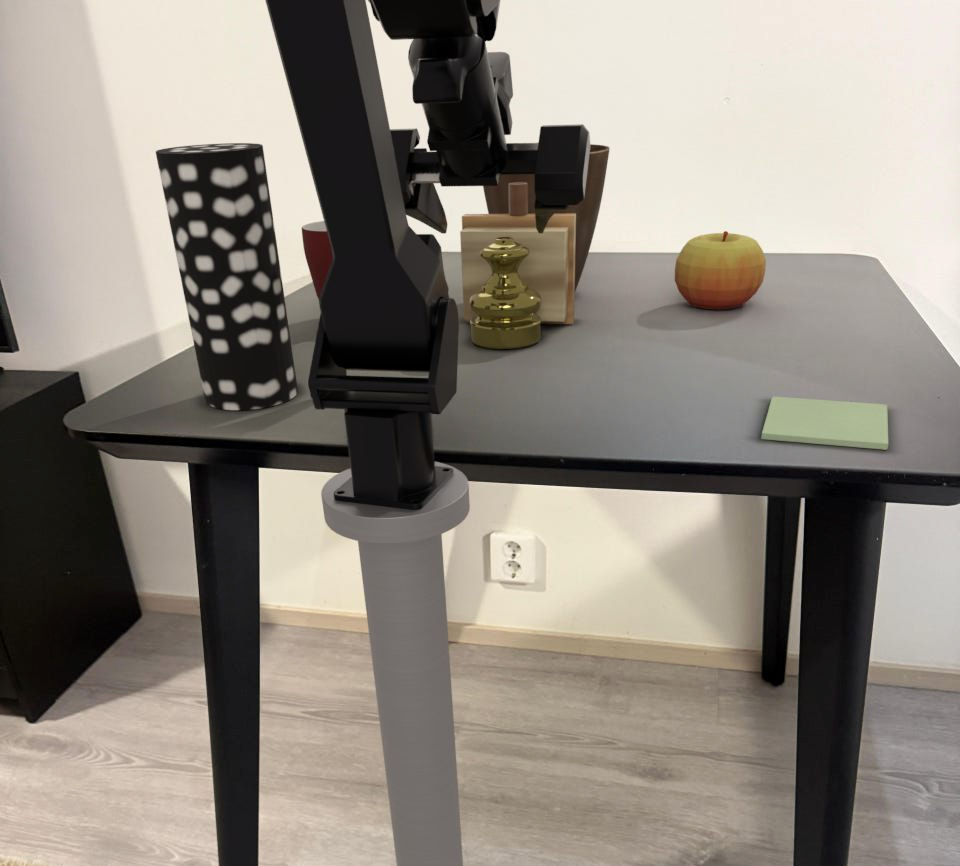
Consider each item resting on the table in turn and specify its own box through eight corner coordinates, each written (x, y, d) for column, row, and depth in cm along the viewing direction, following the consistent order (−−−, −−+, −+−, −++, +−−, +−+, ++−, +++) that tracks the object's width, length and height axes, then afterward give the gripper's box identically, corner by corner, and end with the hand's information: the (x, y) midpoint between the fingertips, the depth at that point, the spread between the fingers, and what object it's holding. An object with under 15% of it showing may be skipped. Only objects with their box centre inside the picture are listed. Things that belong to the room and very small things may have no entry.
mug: (412, 312, 109) (406, 220, 103) (385, 329, 102) (376, 232, 97) (332, 308, 112) (321, 218, 106) (300, 325, 105) (287, 230, 100)
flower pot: (457, 297, 114) (451, 152, 105) (543, 277, 122) (543, 140, 113) (543, 317, 104) (543, 158, 96) (629, 293, 113) (637, 145, 104)
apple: (719, 320, 100) (727, 241, 96) (654, 305, 107) (659, 231, 103) (777, 305, 105) (788, 229, 101) (712, 291, 112) (719, 220, 108)
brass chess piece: (472, 332, 100) (468, 233, 94) (541, 330, 99) (541, 230, 94) (469, 351, 94) (464, 246, 88) (542, 349, 93) (542, 243, 88)
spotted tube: (188, 408, 82) (134, 154, 71) (231, 379, 88) (188, 144, 78) (274, 412, 80) (233, 152, 69) (311, 383, 87) (279, 142, 76)
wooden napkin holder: (568, 331, 99) (570, 187, 91) (459, 329, 101) (453, 188, 94) (574, 320, 103) (577, 181, 95) (469, 318, 105) (464, 182, 97)
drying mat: (887, 450, 68) (888, 443, 68) (761, 439, 70) (761, 433, 70) (886, 410, 75) (887, 404, 75) (771, 402, 78) (772, 396, 77)
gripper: (591, 5, 71) (601, 151, 86) (360, 16, 74) (408, 155, 89) (575, 131, 68) (589, 259, 83) (338, 136, 72) (392, 258, 87)
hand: (492, 228), depth 86 cm, fingers open, 9 cm apart
